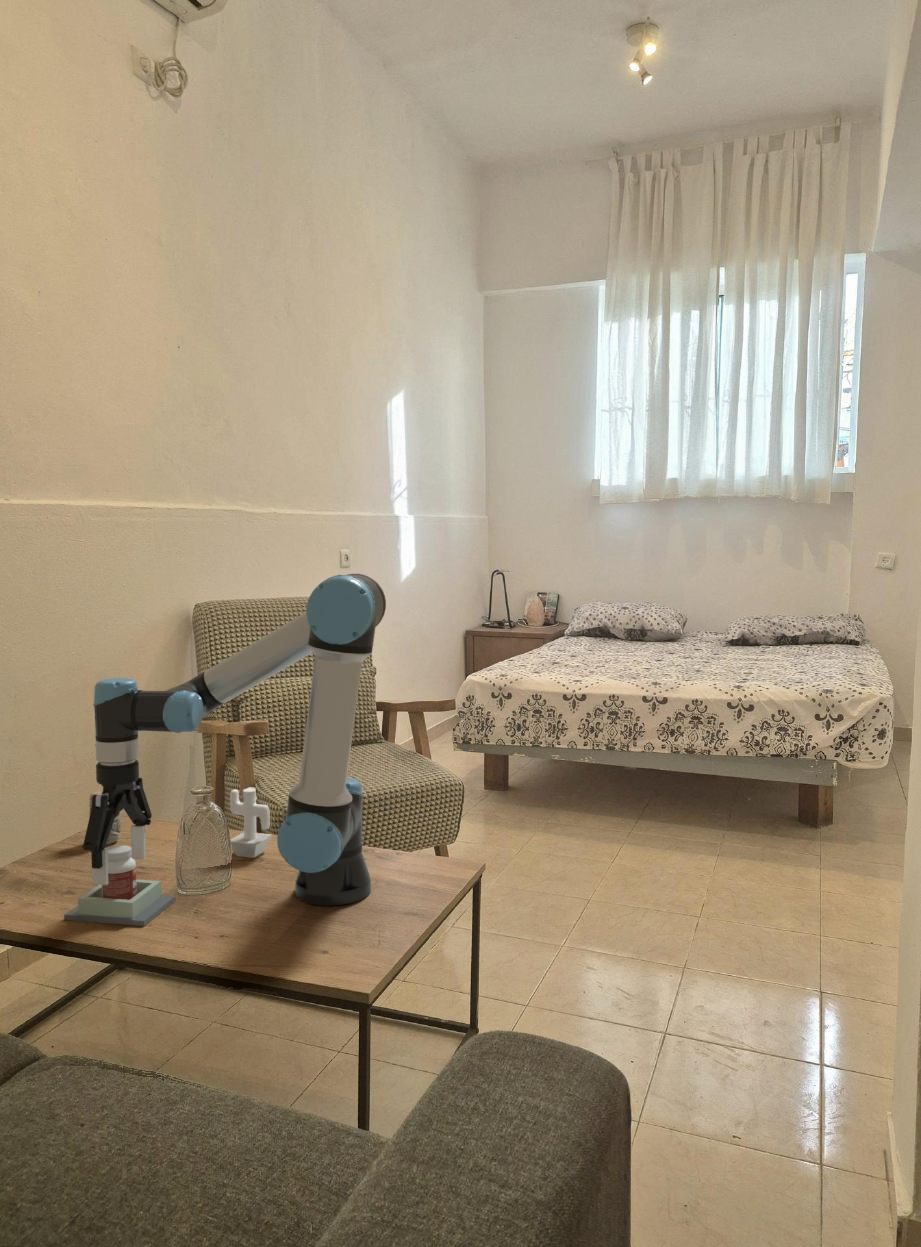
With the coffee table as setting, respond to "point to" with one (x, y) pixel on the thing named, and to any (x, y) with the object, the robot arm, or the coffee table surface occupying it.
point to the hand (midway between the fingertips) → (120, 870)
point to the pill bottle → (120, 874)
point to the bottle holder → (122, 906)
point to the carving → (116, 826)
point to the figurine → (250, 824)
